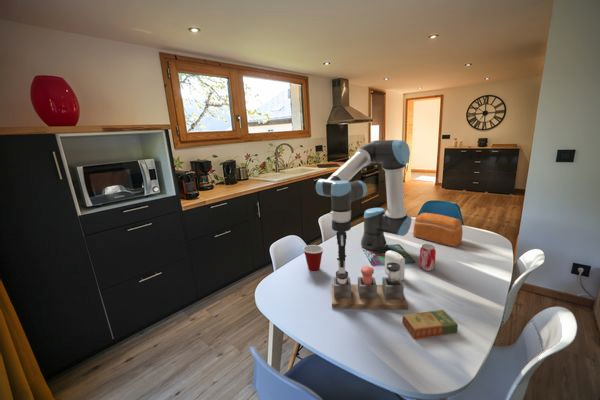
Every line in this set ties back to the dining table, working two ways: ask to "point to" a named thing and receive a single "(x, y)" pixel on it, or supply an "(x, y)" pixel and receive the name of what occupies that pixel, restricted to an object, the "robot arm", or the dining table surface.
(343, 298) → the socket board
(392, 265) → the grey plug
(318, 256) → the plastic cup
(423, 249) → the soda can
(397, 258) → the photo printer
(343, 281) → the grey plug
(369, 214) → the robot arm
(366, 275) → the red plug
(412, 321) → the carton
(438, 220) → the bread
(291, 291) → the dining table surface
